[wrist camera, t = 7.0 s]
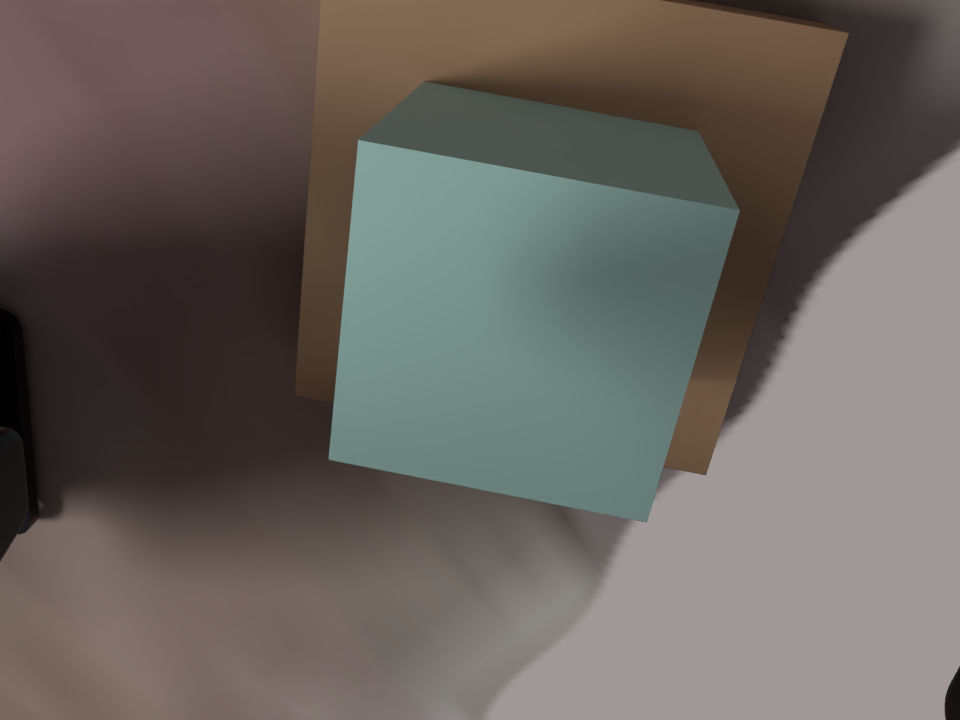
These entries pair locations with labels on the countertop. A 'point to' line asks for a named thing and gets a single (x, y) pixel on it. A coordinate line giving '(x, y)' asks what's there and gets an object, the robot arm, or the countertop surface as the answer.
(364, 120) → the walnut base
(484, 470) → the teal block
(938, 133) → the countertop surface
